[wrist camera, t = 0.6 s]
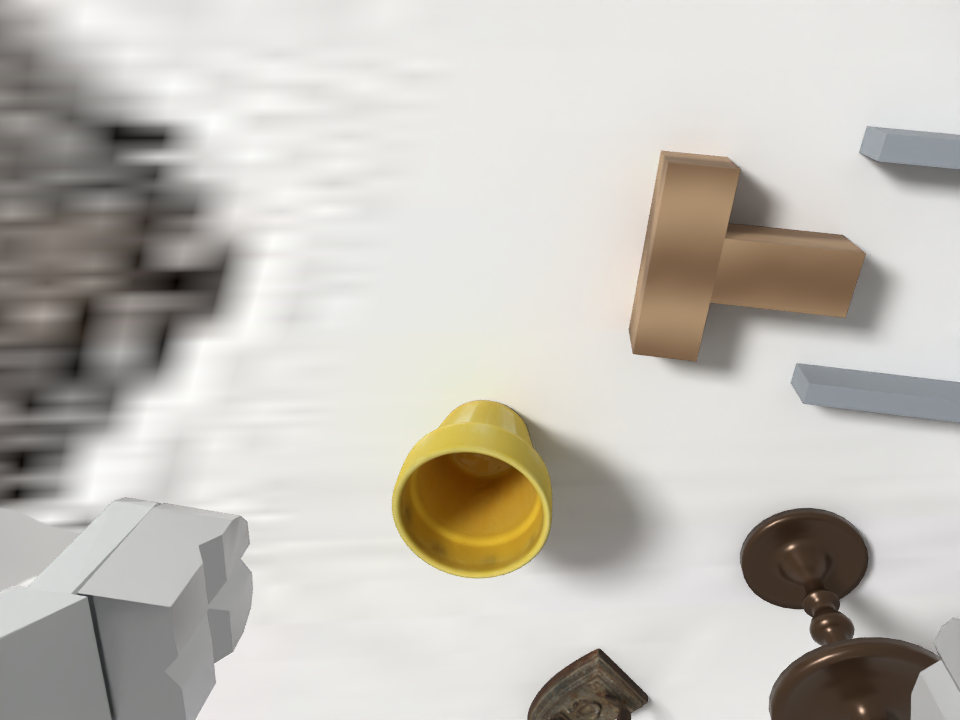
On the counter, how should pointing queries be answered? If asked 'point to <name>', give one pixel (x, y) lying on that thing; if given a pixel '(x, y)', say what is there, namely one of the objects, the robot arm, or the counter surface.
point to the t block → (725, 260)
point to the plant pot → (474, 494)
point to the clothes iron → (588, 692)
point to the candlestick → (828, 622)
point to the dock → (882, 388)
